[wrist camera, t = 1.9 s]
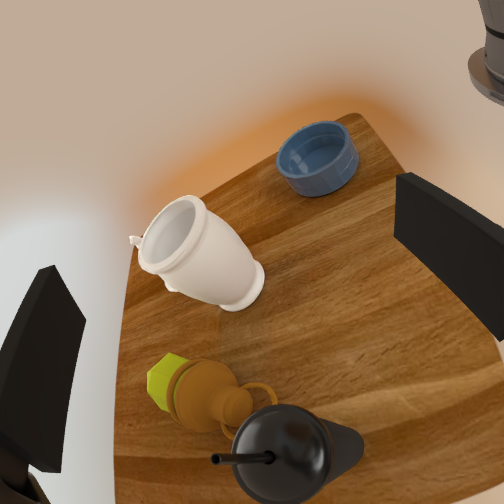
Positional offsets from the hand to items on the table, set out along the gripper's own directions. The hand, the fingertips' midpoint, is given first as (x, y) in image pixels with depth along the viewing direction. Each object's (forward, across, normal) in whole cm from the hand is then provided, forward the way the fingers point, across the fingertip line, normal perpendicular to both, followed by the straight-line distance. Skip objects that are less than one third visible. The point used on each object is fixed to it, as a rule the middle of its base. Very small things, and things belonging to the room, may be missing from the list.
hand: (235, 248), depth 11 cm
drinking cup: (+1, +6, -27) cm, 28 cm away
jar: (+27, +1, -23) cm, 36 cm away
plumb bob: (+14, -6, -30) cm, 34 cm away
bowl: (+36, +18, -12) cm, 42 cm away
